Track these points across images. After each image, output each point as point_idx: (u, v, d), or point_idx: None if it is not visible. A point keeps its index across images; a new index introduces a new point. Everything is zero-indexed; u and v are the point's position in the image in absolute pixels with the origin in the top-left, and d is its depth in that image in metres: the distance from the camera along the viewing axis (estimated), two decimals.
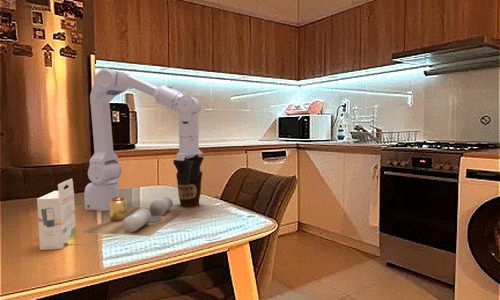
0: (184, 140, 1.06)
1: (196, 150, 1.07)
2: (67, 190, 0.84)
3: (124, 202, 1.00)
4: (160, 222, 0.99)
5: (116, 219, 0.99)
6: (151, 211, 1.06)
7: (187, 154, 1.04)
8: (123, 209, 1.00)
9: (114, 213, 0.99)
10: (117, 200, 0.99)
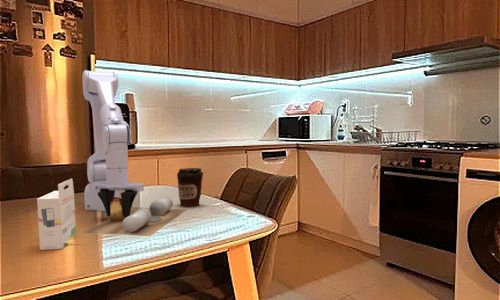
0: None
1: (109, 183, 0.98)
2: (67, 190, 0.84)
3: None
4: (160, 222, 0.99)
5: (116, 219, 0.99)
6: (151, 211, 1.06)
7: (98, 185, 1.00)
8: None
9: (114, 213, 0.99)
10: (117, 200, 0.99)
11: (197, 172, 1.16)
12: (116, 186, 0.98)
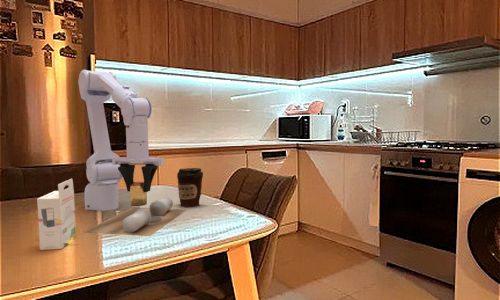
0: None
1: (129, 157, 0.97)
2: (67, 190, 0.84)
3: None
4: (160, 222, 0.99)
5: (137, 203, 0.98)
6: (151, 211, 1.06)
7: (118, 159, 0.99)
8: (144, 193, 0.99)
9: (134, 198, 0.98)
10: (137, 184, 0.98)
11: (197, 172, 1.16)
12: (137, 160, 0.97)
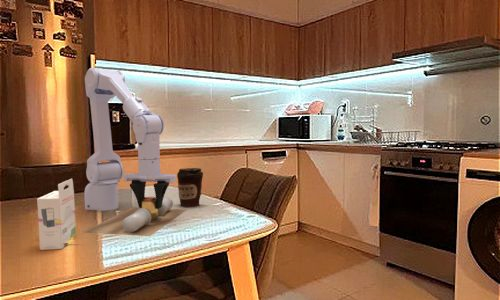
0: None
1: (141, 174, 0.97)
2: (67, 190, 0.84)
3: None
4: (160, 222, 0.99)
5: None
6: None
7: (129, 176, 0.99)
8: (155, 209, 0.99)
9: None
10: (149, 200, 0.99)
11: (197, 172, 1.16)
12: (149, 177, 0.97)
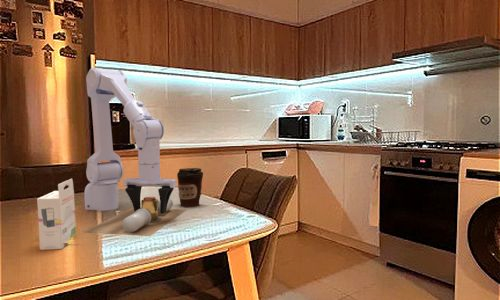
0: None
1: (141, 179, 0.98)
2: (67, 190, 0.84)
3: (156, 202, 1.00)
4: (160, 222, 0.99)
5: None
6: None
7: (130, 181, 1.00)
8: (155, 209, 0.99)
9: None
10: (149, 200, 0.99)
11: (197, 172, 1.16)
12: (149, 182, 0.97)
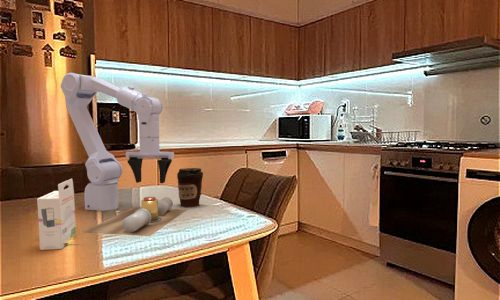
0: None
1: (142, 151, 1.07)
2: (67, 190, 0.84)
3: (156, 202, 1.00)
4: (160, 222, 0.99)
5: None
6: None
7: (131, 153, 1.09)
8: (155, 209, 0.99)
9: None
10: (149, 200, 0.99)
11: (197, 172, 1.16)
12: (149, 154, 1.06)
